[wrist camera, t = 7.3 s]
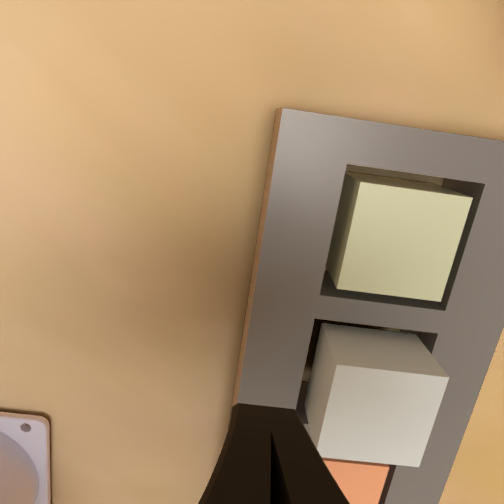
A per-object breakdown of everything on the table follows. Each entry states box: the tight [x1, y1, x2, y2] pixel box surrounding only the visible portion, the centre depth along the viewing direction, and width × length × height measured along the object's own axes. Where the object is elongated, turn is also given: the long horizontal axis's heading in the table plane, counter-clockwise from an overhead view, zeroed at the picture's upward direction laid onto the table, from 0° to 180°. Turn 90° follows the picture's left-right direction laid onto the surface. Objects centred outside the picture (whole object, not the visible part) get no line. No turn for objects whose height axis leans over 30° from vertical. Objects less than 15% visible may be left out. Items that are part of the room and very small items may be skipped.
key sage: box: [326, 171, 473, 302], centre depth 16 cm, size 4×4×3 cm
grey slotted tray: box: [228, 108, 504, 504], centre depth 20 cm, size 10×26×3 cm, turn 172°
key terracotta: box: [322, 457, 389, 504], centre depth 20 cm, size 4×4×3 cm
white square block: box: [304, 323, 449, 467], centre depth 16 cm, size 4×4×3 cm
